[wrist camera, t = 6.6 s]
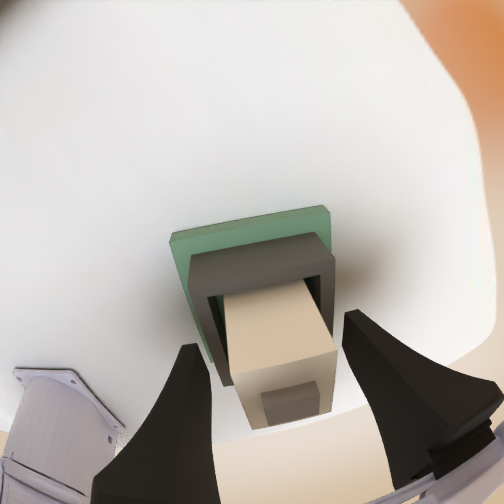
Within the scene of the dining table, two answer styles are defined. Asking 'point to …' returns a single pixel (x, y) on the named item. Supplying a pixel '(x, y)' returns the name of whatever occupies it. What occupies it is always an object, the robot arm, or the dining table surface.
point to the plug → (279, 353)
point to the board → (253, 267)
